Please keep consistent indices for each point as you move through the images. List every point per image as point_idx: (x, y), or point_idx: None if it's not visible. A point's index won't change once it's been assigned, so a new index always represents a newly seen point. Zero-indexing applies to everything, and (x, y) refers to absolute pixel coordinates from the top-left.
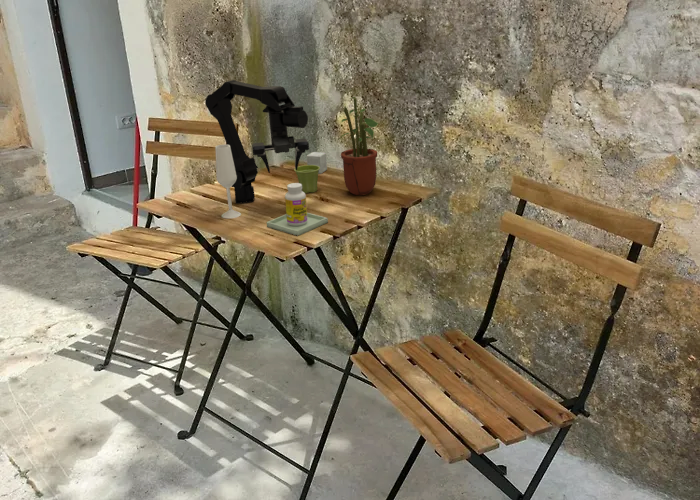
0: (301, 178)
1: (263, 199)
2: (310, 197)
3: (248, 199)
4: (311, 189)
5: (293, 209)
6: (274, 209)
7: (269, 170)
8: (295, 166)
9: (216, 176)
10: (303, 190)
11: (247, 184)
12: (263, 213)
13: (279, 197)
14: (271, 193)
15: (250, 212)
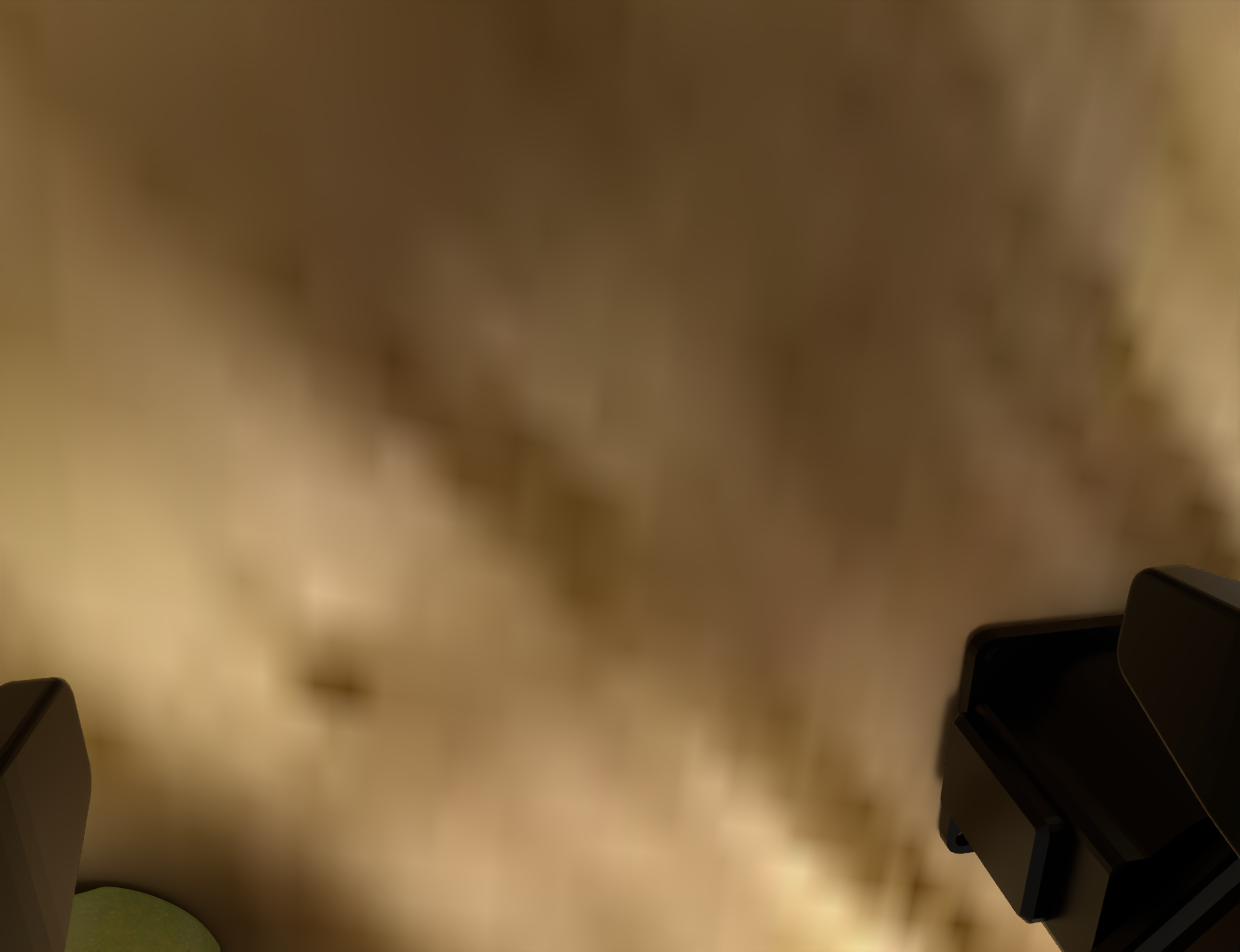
0: None
1: (814, 725)
2: None
3: (1054, 670)
4: None
5: None
6: (710, 229)
7: (1220, 595)
8: (3, 769)
9: None
10: (169, 928)
11: (1171, 879)
12: (922, 67)
13: (574, 769)
14: (673, 932)
15: (1107, 189)
